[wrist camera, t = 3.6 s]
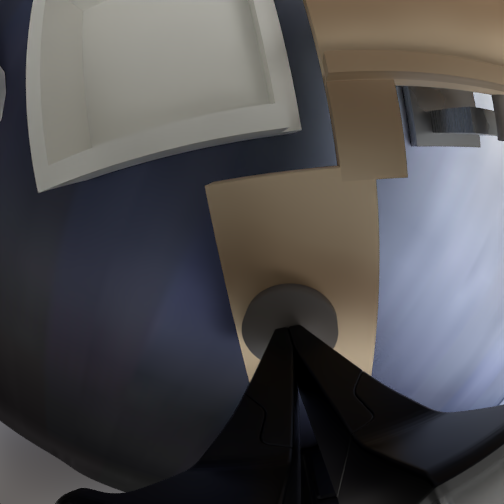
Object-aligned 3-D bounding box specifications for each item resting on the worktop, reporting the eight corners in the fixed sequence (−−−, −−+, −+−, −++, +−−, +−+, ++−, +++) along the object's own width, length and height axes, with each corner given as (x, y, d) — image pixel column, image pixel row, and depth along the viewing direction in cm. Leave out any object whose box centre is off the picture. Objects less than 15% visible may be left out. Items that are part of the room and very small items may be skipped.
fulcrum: (474, 146, 10) (518, 152, 7) (411, 146, 10) (457, 148, 7) (434, -9, 7) (466, -28, 4) (365, -26, 7) (392, -57, 4)
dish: (292, 133, 10) (315, 124, 7) (87, 179, 10) (37, 192, 7) (252, -41, 7) (256, -87, 4) (74, 10, 7) (36, -16, 4)
